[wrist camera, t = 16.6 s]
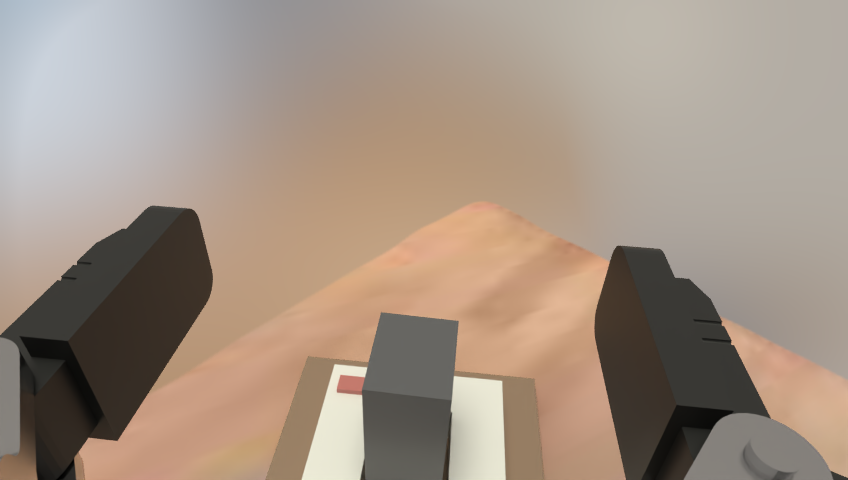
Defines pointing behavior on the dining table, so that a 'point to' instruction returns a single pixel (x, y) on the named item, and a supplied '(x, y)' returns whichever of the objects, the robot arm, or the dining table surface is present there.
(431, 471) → the plug
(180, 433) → the dining table surface
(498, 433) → the socket
